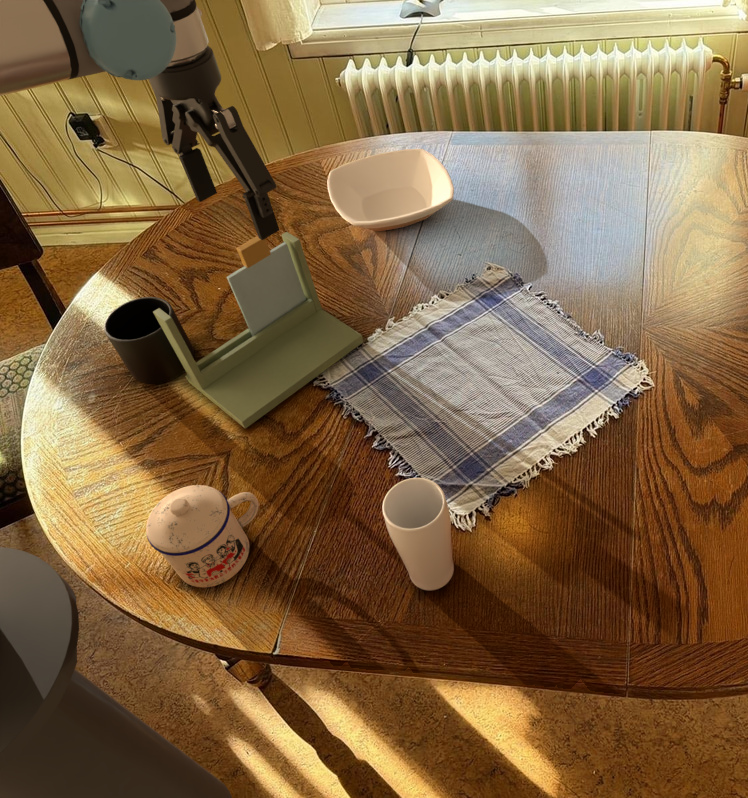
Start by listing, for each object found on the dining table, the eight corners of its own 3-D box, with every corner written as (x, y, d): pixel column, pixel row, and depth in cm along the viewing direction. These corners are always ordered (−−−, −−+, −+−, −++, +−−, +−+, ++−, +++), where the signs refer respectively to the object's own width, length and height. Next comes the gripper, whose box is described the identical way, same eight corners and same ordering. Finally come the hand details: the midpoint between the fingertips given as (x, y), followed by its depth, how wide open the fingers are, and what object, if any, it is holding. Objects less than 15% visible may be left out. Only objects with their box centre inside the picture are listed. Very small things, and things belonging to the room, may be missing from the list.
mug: (166, 324, 119) (142, 280, 112) (207, 359, 113) (185, 315, 106) (111, 356, 114) (82, 313, 107) (151, 395, 109) (123, 351, 102)
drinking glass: (412, 543, 92) (392, 472, 80) (466, 551, 91) (453, 480, 79) (396, 593, 87) (372, 526, 76) (453, 602, 86) (437, 535, 75)
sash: (258, 346, 113) (222, 262, 100) (253, 342, 113) (217, 258, 101) (310, 310, 117) (282, 226, 105) (306, 307, 118) (277, 223, 106)
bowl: (324, 192, 142) (317, 167, 138) (432, 165, 147) (429, 141, 143) (351, 257, 128) (344, 232, 124) (469, 226, 134) (466, 200, 130)
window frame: (245, 429, 104) (206, 354, 93) (188, 382, 110) (146, 306, 99) (363, 342, 115) (342, 265, 103) (306, 304, 121) (280, 227, 110)
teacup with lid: (195, 605, 87) (154, 556, 78) (163, 554, 91) (121, 502, 83) (286, 544, 92) (258, 491, 83) (252, 498, 96) (221, 443, 88)
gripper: (273, 70, 78) (321, 236, 94) (144, 12, 89) (206, 170, 105) (213, 98, 75) (273, 266, 91) (86, 34, 86) (159, 194, 101)
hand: (237, 215), depth 98 cm, fingers open, 13 cm apart
